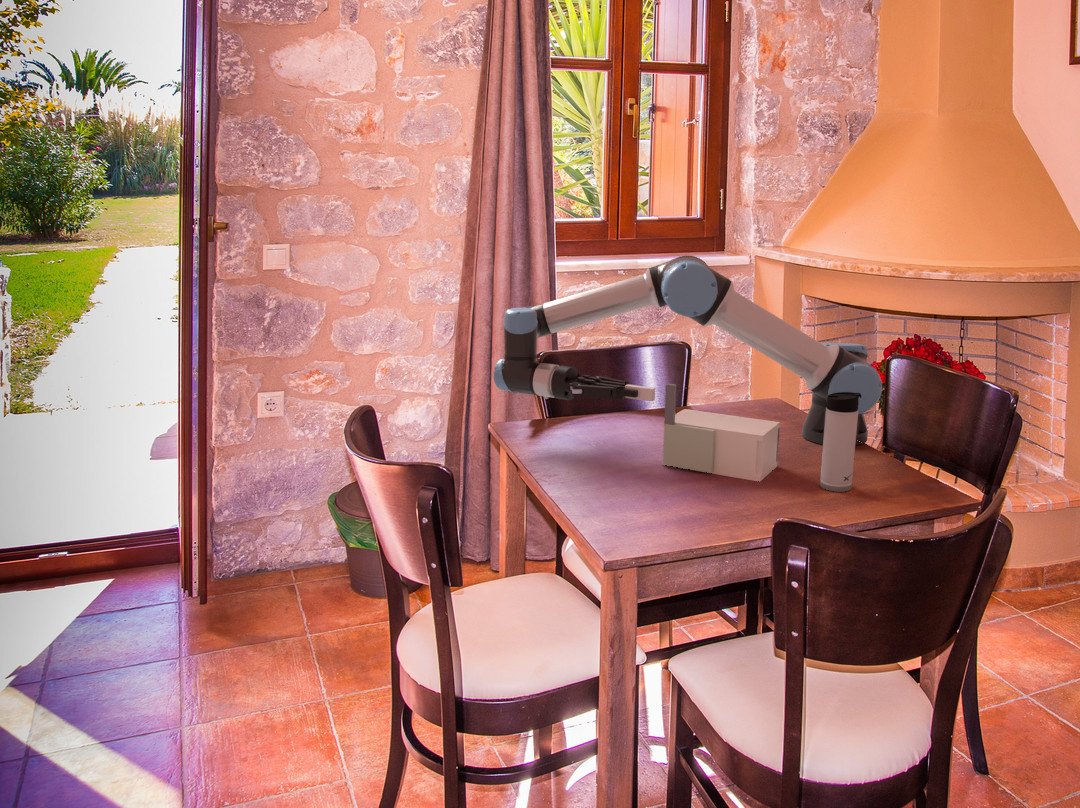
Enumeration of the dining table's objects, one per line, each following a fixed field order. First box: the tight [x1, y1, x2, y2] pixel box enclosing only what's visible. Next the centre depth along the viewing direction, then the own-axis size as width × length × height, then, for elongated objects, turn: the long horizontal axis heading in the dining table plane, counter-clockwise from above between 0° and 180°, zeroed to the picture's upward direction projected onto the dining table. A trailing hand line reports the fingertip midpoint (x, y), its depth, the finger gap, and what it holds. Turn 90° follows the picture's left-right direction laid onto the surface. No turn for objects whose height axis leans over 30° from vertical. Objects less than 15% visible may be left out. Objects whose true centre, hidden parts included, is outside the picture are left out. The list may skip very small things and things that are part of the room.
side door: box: [662, 383, 715, 474], centre depth 212 cm, size 11×1×18 cm, turn 61°
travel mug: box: [819, 392, 861, 493], centre depth 202 cm, size 6×7×20 cm
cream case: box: [661, 408, 781, 483], centre depth 217 cm, size 22×12×10 cm, turn 61°
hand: (653, 394), depth 214 cm, fingers closed
